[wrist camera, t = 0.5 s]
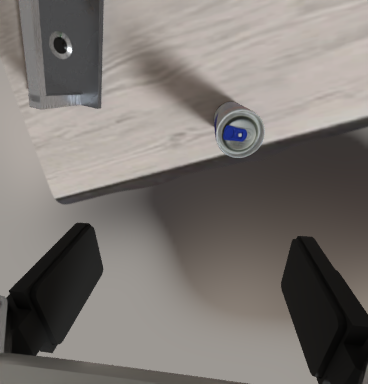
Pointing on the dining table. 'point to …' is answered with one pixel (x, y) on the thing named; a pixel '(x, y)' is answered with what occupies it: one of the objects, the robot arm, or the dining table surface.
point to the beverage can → (238, 130)
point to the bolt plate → (73, 47)
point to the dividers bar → (38, 61)
